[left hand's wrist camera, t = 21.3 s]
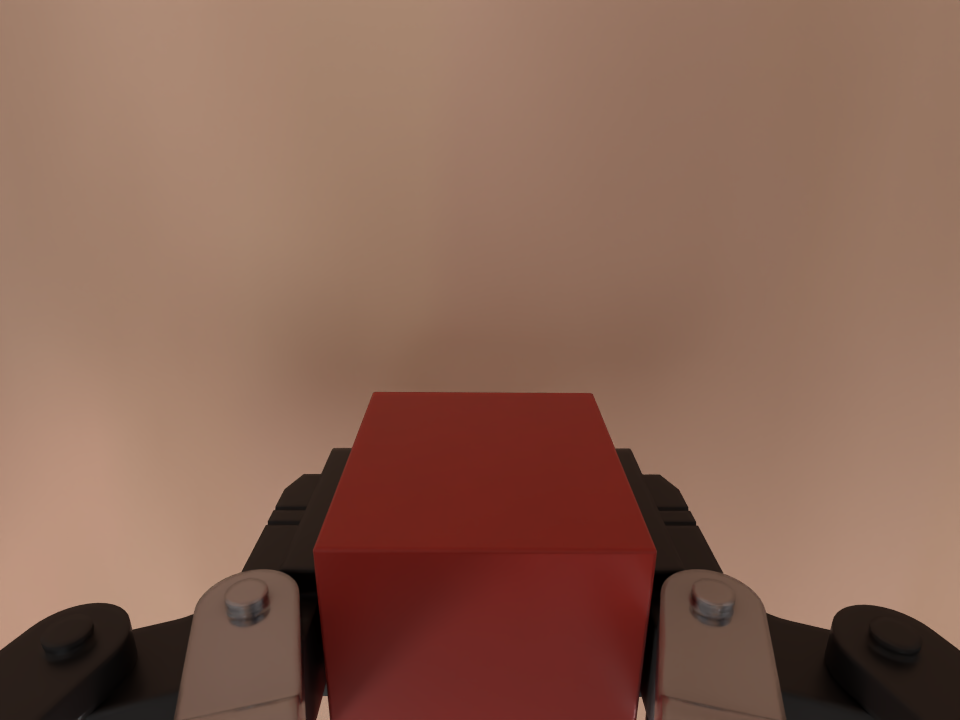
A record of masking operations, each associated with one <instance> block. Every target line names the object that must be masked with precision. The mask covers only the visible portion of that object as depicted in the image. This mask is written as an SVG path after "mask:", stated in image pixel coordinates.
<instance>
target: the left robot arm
mask: <svg viewBox="0 0 960 720" xmlns="http://www.w3.org/2000/svg"><path fill="white" fill-rule="evenodd" d="M351 449H352V448H333V449H332V451H331V453H330V455H329V458H328V460H327V462H326V464H325V467H324V469H323V471H322V473H321V474H303V475H302V476H301V477H300V478H298V479H297V480H296V481H294V482H293V483H292V484H291V485H289V486H288V487H287V488H286V489H285V490H284V491H283V493H282V495H281V497H280V499H279V501H278V503H277V505H276V509H275V510H274V511H273V513H272V514H271V516H270V518H269V520H268V525H266V526H265V528H264V530H263V532H262V534H261V536H260V537H259V539H258V541H257V543H256V545H255V547H254V549H253V551H252V553H251V555H250V557H249V559H248V560H247V562H246V564H245V566H244V568H243V570H242V572H241V573H238V574H235V575H232V576H230V577H227V578H225V579H223V580H221V581H220V582H218V583H216V584H215V585H214V586H212V587H211V588H210V589H209V590H207V591H206V592H205V593H204V594H203V596H202V597H201V598H200V599H199V601H198V603H197V605H196V607H195V611H194V614H193V615H190V616H187V617H184V618H181V619H177V620H173V621H169V622H164V623H160V624H156V625H151V626H147V627H143V628H138V629H134V630H132V627H131V622H130V619H129V616H128V614H127V613H126V611H125V610H123V609H122V608H121V607H118V606H116V605H113V604H108V603H91V604H84V605H79V606H75V607H71V608H68V609H65V610H63V611H60V612H57V613H55V614H53V615H51V616H49V617H47V618H45V619H43V620H42V621H40V622H38V623H37V624H35V625H34V626H32V627H31V628H29V629H28V630H27V631H25V632H24V633H23V634H21V635H20V636H19V637H17V638H16V639H15V640H14V641H12V642H11V643H10V644H8V645H7V646H6V647H4V648H3V649H2V650H0V720H316V718H317V715H318V711H319V708H320V704H321V700H322V696H328V694H327V684H326V674H325V664H324V654H323V644H322V635H321V625H320V615H319V605H318V595H317V585H316V576H315V566H314V556H313V549H314V546H315V544H316V541H317V538H318V536H319V533H320V530H321V528H322V525H323V523H324V520H325V517H326V515H327V512H328V510H329V507H330V504H331V502H332V499H333V496H334V494H335V491H336V489H337V486H338V483H339V481H340V478H341V476H342V473H343V470H344V468H345V465H346V462H347V460H348V457H349V455H350V452H351ZM615 450H616V452H617V455H618V457H619V460H620V462H621V465H622V467H623V469H624V472H625V474H626V477H627V479H628V482H629V484H630V487H631V489H632V491H633V494H634V496H635V499H636V501H637V504H638V506H639V509H640V511H641V513H642V516H643V518H644V521H645V523H646V526H647V528H648V531H649V533H650V535H651V538H652V540H653V543H654V545H655V548H656V550H657V556H656V564H655V572H654V581H653V589H652V597H651V605H650V613H649V621H648V629H647V637H646V645H645V653H644V661H643V669H642V678H641V686H640V694H639V697H642V699H643V703H644V706H645V710H646V718H645V720H960V650H958V649H957V648H956V647H954V646H953V645H952V644H950V643H949V642H948V641H947V640H945V639H944V638H943V637H941V636H940V635H939V634H937V633H936V632H935V631H933V630H932V629H930V628H929V627H927V626H926V625H925V624H923V623H921V622H919V621H918V620H916V619H914V618H912V617H910V616H907V615H905V614H903V613H900V612H897V611H895V610H892V609H888V608H884V607H879V606H874V605H854V606H849V607H846V608H844V609H842V610H840V611H839V612H837V614H836V615H835V616H834V619H833V622H832V626H831V630H827V629H823V628H819V627H814V626H810V625H806V624H801V623H797V622H793V621H789V620H785V619H781V618H778V617H775V616H773V615H770V614H768V613H766V611H765V608H764V605H763V603H762V601H761V599H760V598H759V597H758V596H757V594H756V593H755V592H754V591H753V590H751V589H750V588H749V587H748V586H746V585H745V584H744V583H742V582H740V581H738V580H737V579H735V578H733V577H730V576H728V575H725V574H723V572H722V570H721V568H720V566H719V564H718V562H717V561H716V559H715V557H714V555H713V553H712V551H711V549H710V547H709V545H708V544H707V542H706V540H705V538H704V536H703V534H702V532H701V530H700V529H699V527H698V526H696V521H695V519H694V517H693V515H692V513H691V512H690V511H688V506H687V504H686V502H685V500H684V498H683V497H682V495H681V493H680V491H679V489H677V488H676V487H675V486H673V485H672V484H671V483H670V482H668V481H667V480H666V479H665V478H663V477H662V476H661V475H642V473H641V470H640V468H639V466H638V464H637V462H636V459H635V457H634V455H633V453H632V451H631V449H615Z"/></svg>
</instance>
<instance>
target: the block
mask: <svg viewBox="0 0 960 720" xmlns="http://www.w3.org/2000/svg"><path fill="white" fill-rule="evenodd" d="M313 556H314V566H315V576H316V585H317V595H318V605H319V615H320V625H321V635H322V644H323V654H324V664H325V674H326V684H327V694H328V703H329V713H330V720H636V718H637V710H638V702H639V694H640V686H641V678H642V669H643V661H644V653H645V645H646V637H647V629H648V621H649V613H650V605H651V597H652V589H653V581H654V572H655V564H656V556H657V550H656V548H655V545H654V543H653V540H652V538H651V535H650V533H649V531H648V528H647V526H646V523H645V521H644V518H643V516H642V513H641V511H640V509H639V506H638V504H637V501H636V499H635V496H634V494H633V491H632V489H631V487H630V484H629V482H628V479H627V477H626V474H625V472H624V469H623V467H622V465H621V462H620V460H619V457H618V455H617V452H616V450H615V447H614V445H613V442H612V440H611V438H610V435H609V433H608V430H607V428H606V425H605V423H604V420H603V418H602V416H601V413H600V411H599V408H598V406H597V403H596V401H595V398H594V396H593V394H591V393H466V392H374V393H373V395H372V397H371V400H370V402H369V405H368V408H367V410H366V413H365V415H364V418H363V421H362V423H361V426H360V428H359V431H358V434H357V436H356V439H355V442H354V444H353V447H352V449H351V452H350V455H349V457H348V460H347V462H346V465H345V468H344V470H343V473H342V476H341V478H340V481H339V483H338V486H337V489H336V491H335V494H334V496H333V499H332V502H331V504H330V507H329V510H328V512H327V515H326V517H325V520H324V523H323V525H322V528H321V530H320V533H319V536H318V538H317V541H316V544H315V546H314V549H313Z"/></svg>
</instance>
